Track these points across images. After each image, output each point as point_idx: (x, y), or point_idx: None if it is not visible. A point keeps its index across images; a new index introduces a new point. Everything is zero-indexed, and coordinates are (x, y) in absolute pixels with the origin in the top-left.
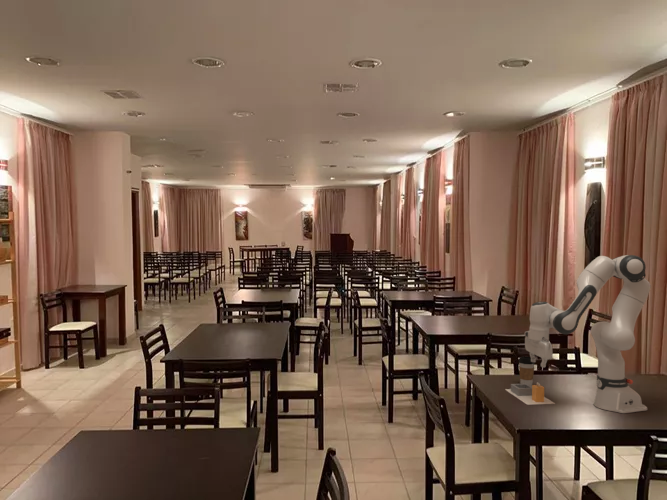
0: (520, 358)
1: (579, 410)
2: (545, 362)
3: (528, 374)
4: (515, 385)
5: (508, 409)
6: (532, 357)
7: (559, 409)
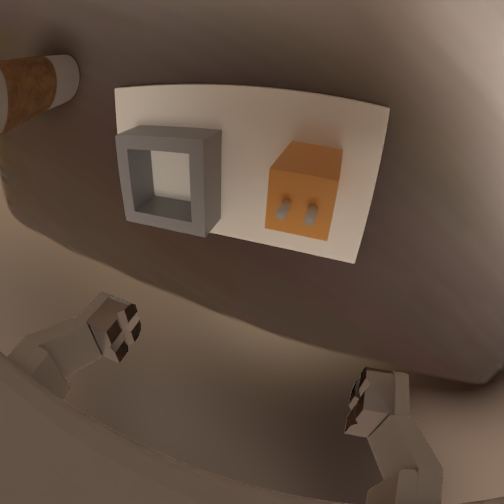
0: None
1: (485, 46)
2: (416, 441)
3: (34, 92)
4: (136, 202)
5: (353, 334)
6: (89, 352)
7: (446, 134)
